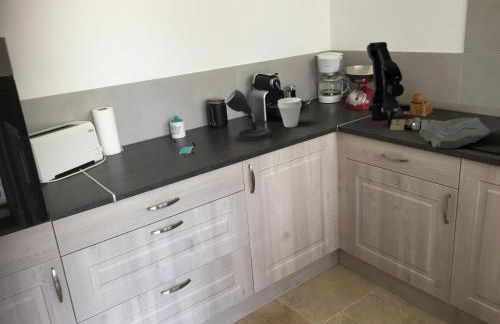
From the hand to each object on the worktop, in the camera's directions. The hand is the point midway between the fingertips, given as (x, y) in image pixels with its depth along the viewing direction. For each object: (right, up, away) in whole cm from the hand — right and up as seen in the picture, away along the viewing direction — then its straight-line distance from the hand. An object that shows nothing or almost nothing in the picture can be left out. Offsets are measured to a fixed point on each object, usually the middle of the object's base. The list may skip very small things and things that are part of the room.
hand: (389, 124), depth 208 cm
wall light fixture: (-67, -6, +5) cm, 68 cm away
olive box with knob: (+6, -1, -2) cm, 6 cm away
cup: (-46, +1, +19) cm, 50 cm away
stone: (+19, -10, -28) cm, 35 cm away
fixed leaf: (+14, -2, -5) cm, 15 cm away
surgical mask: (-97, -13, -7) cm, 98 cm away
